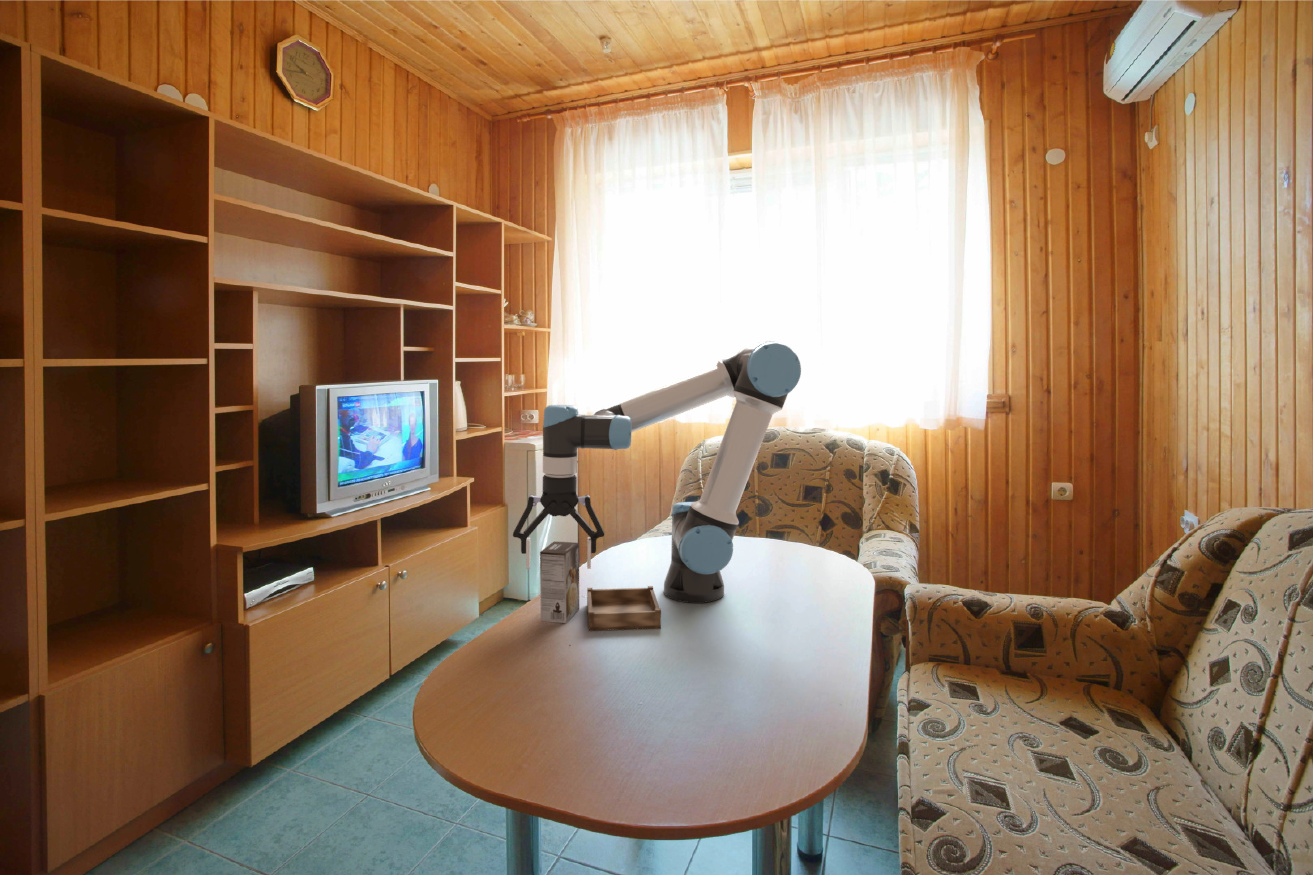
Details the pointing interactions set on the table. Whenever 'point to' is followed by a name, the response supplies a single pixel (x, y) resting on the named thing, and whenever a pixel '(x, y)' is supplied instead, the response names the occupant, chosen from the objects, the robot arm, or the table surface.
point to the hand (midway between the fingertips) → (558, 567)
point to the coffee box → (559, 581)
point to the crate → (623, 609)
